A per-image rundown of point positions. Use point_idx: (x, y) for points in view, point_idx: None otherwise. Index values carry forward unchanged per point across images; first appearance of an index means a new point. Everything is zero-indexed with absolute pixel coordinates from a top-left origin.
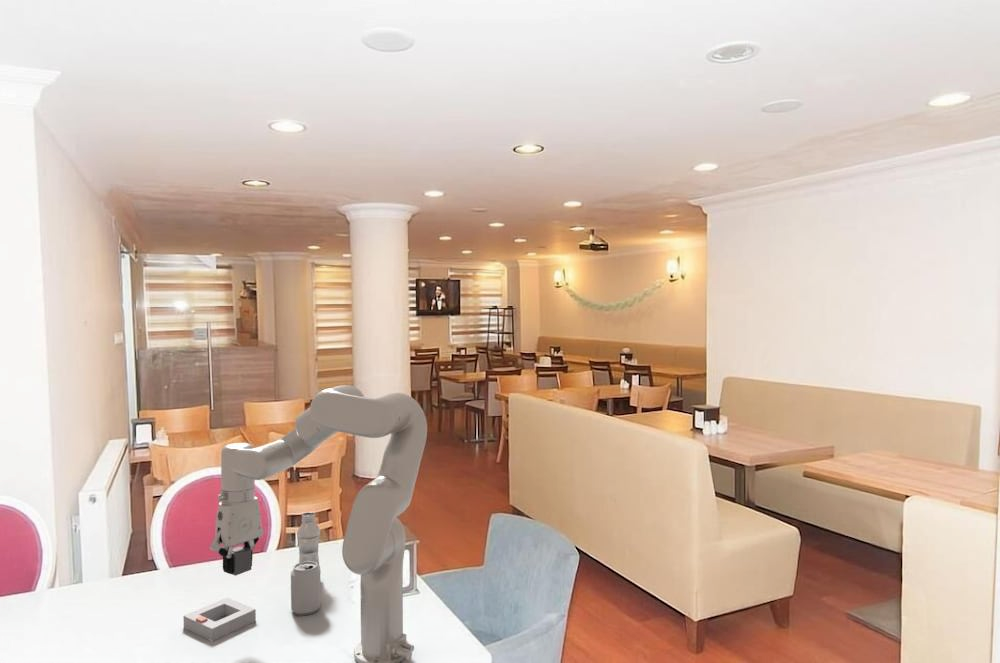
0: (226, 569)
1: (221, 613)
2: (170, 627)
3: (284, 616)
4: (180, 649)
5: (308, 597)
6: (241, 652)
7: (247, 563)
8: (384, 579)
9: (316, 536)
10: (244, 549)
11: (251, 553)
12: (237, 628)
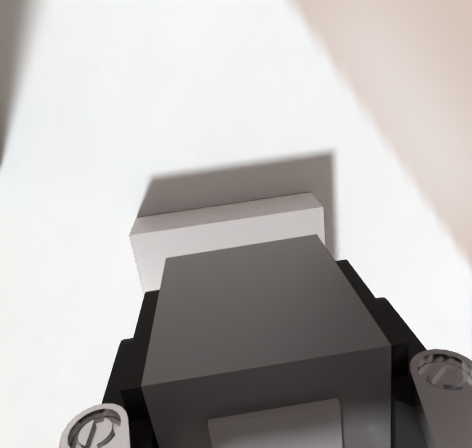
0: (384, 302)
1: None
2: None
3: (35, 168)
4: (397, 216)
5: None
6: (289, 27)
7: (202, 285)
8: None
9: None
10: (219, 423)
11: (134, 364)
12: (212, 207)
